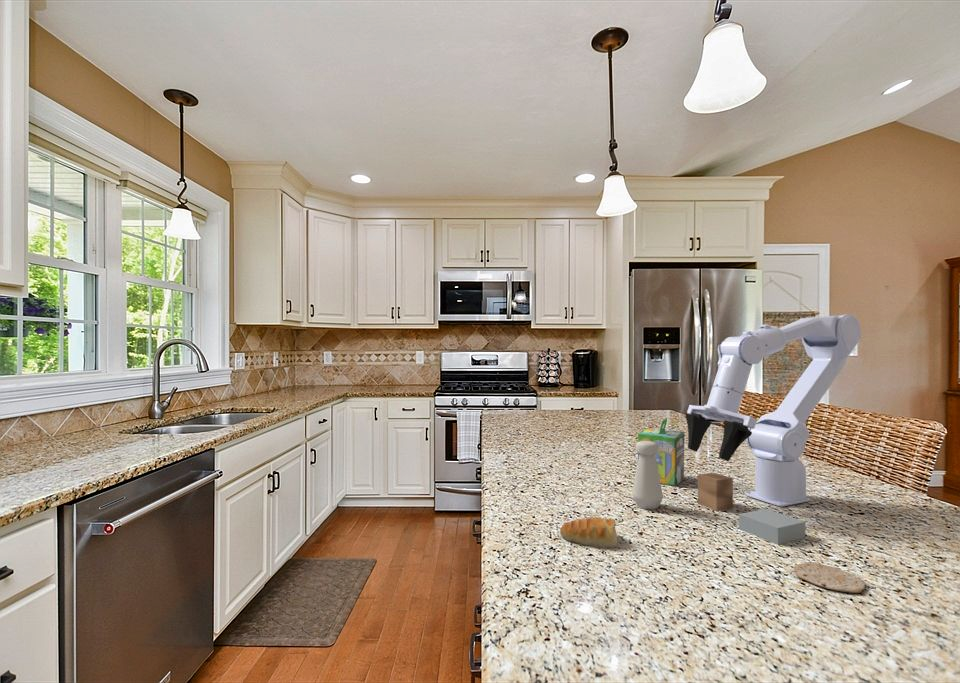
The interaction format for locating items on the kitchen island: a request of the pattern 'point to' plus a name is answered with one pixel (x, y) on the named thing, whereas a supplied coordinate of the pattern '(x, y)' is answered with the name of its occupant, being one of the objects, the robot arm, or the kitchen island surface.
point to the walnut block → (715, 491)
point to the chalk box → (667, 452)
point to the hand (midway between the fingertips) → (707, 454)
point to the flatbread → (829, 577)
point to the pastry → (591, 532)
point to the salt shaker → (647, 477)
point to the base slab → (772, 526)
